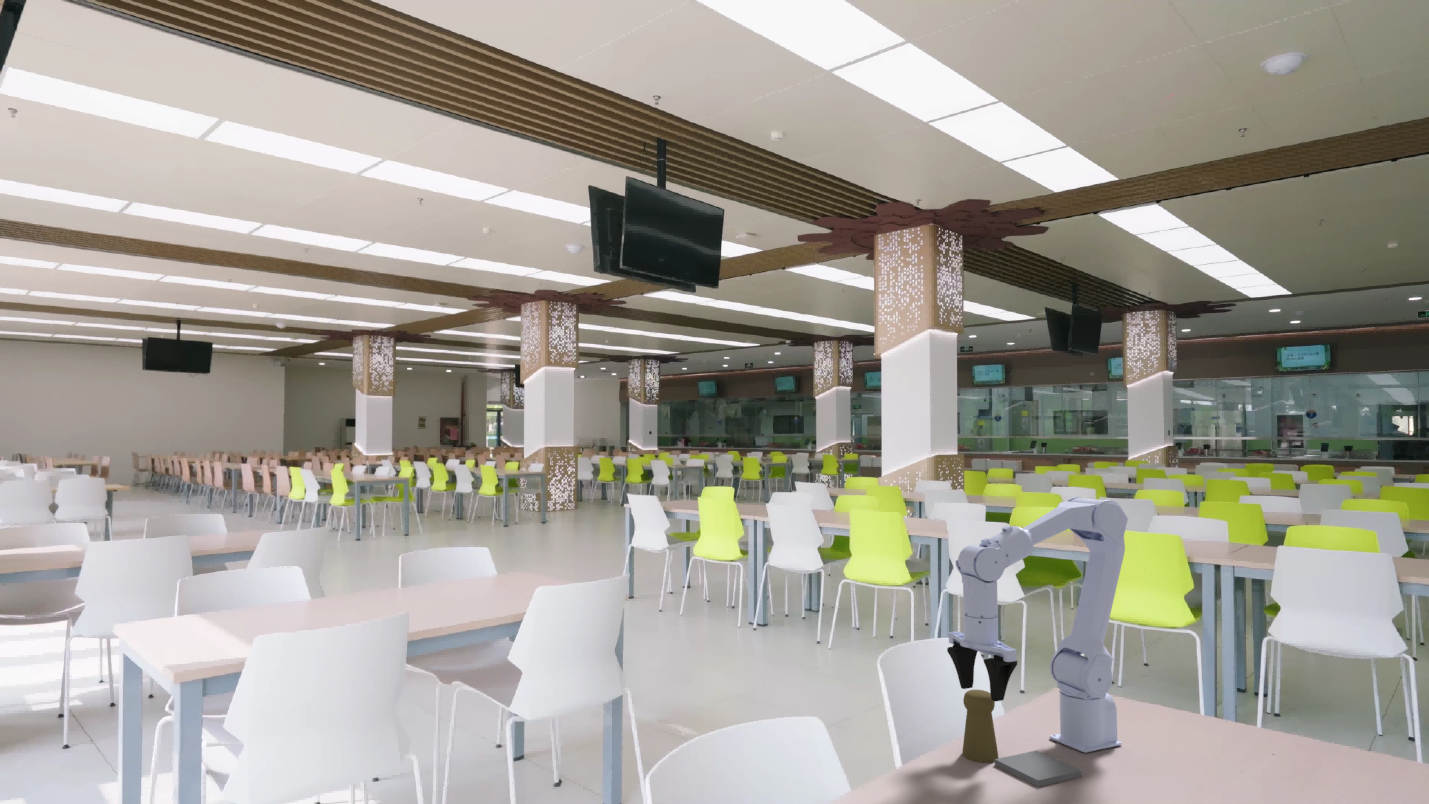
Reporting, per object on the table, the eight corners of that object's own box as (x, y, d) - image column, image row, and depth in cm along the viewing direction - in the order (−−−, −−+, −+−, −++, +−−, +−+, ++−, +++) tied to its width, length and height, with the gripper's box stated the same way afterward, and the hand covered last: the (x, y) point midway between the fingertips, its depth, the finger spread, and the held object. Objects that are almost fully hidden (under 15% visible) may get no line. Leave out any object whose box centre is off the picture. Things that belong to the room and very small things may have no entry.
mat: (1036, 756, 140) (1036, 750, 140) (1082, 776, 131) (1082, 770, 132) (994, 765, 136) (994, 759, 136) (1038, 787, 128) (1038, 780, 128)
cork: (1001, 763, 137) (999, 697, 137) (963, 761, 138) (962, 695, 139) (996, 750, 143) (994, 687, 143) (960, 748, 144) (959, 685, 144)
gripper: (935, 609, 147) (936, 685, 146) (992, 625, 134) (994, 709, 133) (965, 606, 150) (966, 680, 149) (1025, 621, 137) (1026, 703, 136)
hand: (981, 694), depth 141 cm, fingers open, 7 cm apart
